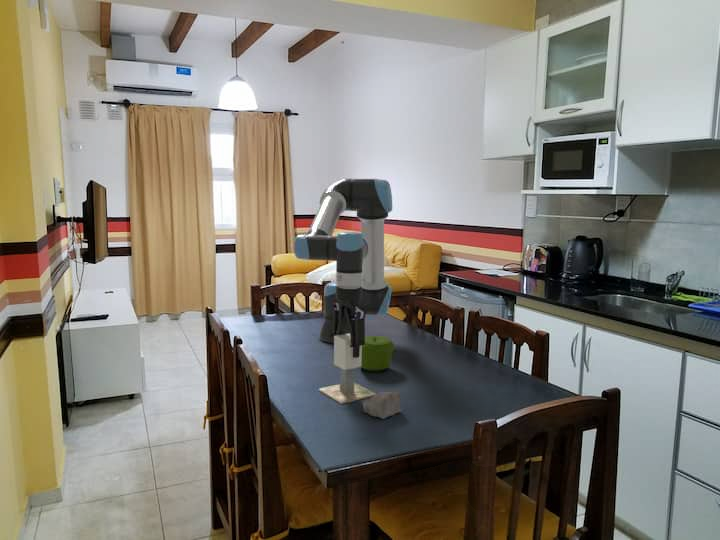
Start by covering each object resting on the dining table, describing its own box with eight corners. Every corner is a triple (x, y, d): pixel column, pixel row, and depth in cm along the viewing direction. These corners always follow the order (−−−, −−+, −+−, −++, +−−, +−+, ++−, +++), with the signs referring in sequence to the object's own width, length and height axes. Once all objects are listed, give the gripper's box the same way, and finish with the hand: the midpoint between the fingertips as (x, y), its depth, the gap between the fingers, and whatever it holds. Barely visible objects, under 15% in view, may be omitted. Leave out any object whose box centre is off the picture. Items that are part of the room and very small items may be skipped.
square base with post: (351, 382, 164) (352, 354, 163) (375, 395, 155) (376, 365, 154) (318, 390, 157) (319, 361, 156) (341, 404, 148) (342, 373, 147)
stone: (358, 411, 144) (359, 390, 143) (388, 405, 149) (389, 384, 148) (374, 422, 137) (375, 400, 136) (405, 415, 142) (406, 394, 141)
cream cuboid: (350, 361, 159) (350, 333, 158) (361, 366, 154) (362, 337, 153) (333, 364, 156) (334, 335, 154) (344, 369, 151) (345, 340, 150)
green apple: (366, 377, 170) (367, 343, 168) (349, 365, 181) (350, 333, 179) (399, 371, 176) (400, 338, 174) (381, 361, 186) (382, 329, 185)
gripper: (320, 282, 157) (319, 358, 160) (357, 293, 142) (355, 376, 145) (341, 280, 161) (340, 354, 165) (379, 290, 146) (377, 371, 150)
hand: (347, 364), depth 155 cm, fingers closed on cream cuboid, 6 cm apart
